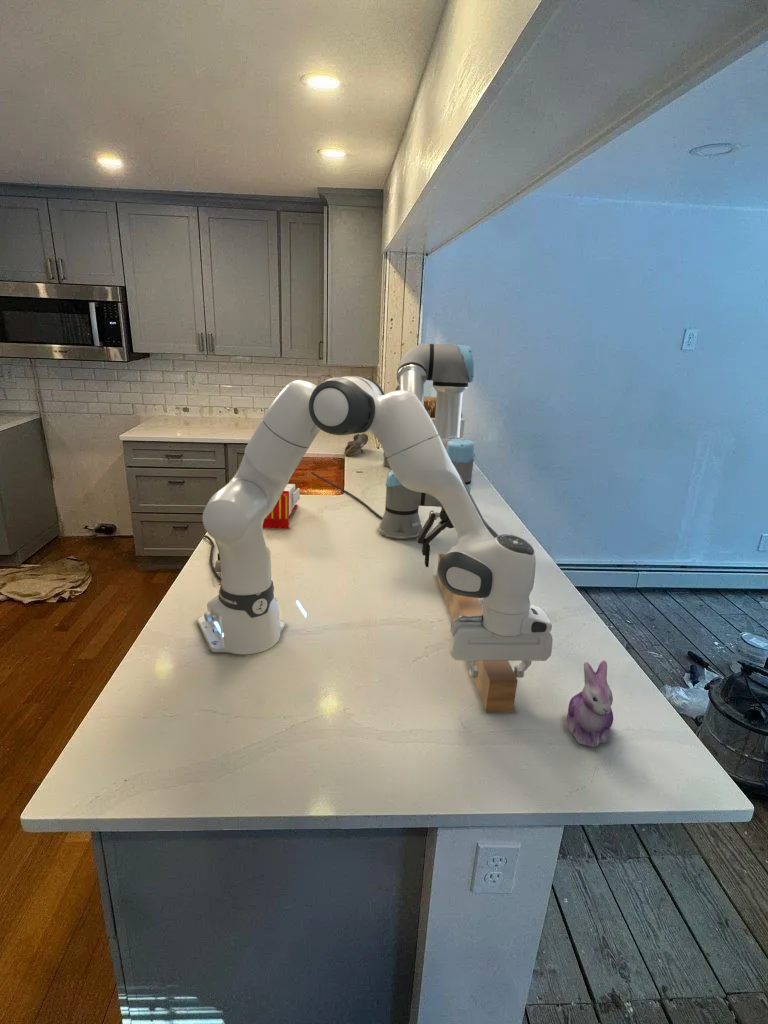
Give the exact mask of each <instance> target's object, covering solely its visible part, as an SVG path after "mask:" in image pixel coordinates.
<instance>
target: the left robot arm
mask: <svg viewBox="0 0 768 1024" xmlns="http://www.w3.org/2000/svg"><path fill="white" fill-rule="evenodd" d="M321 431H323V432H325V433H327V434H329V435H334V436H348V435H356V434H364V433H370V434H372V435H373V436H374V437H375V438H376V439H377V441H378V443H379V444H380V446H381V449H382V450H383V454H384V453H385V456H386V458H387V457H389V456H392V455H394V454H396V453H398V452H400V453H398V454H396V455H394V456H392V457H389V458H387V460H388V463H389V465H390V467H391V469H392V471H393V473H394V475H395V476H396V478H397V479H398V480H399V482H400V483H401V484H402V485H403V486H404V487H406V488H407V489H409V490H412V491H416V492H422V493H427V494H429V495H432V496H434V497H435V498H436V499H437V500H438V501H439V502H440V503H441V504H442V506H443V508H444V510H445V511H446V513H447V515H448V517H449V519H450V521H451V523H452V524H453V526H454V528H453V529H454V530H455V532H456V536H457V543H456V544H454V545H453V546H452V547H451V548H450V549H449V550H448V551H447V552H446V553H444V554H445V555H444V556H443V557H442V558H441V560H440V562H439V565H438V564H437V565H438V574H439V578H440V580H441V582H442V584H443V585H444V586H445V587H446V588H447V589H448V590H449V591H450V592H452V593H454V594H456V595H460V596H466V597H473V598H478V599H483V602H482V607H483V608H482V616H459V618H456V619H455V620H452V621H451V624H450V634H451V635H450V638H449V643H448V652H449V655H450V656H451V658H452V660H453V661H456V662H458V661H459V662H463V661H464V662H466V665H467V666H468V676H469V678H473V679H474V678H478V672H479V671H478V669H477V666H473V665H472V664H474V661H509V662H510V661H511V662H514V661H515V662H520V663H519V665H514V668H513V672H514V674H515V676H516V678H522V679H523V678H524V675H525V672H526V671H527V670H528V669H529V667H531V665H532V663H533V662H538V661H539V662H546V661H547V660H549V659H550V658H551V656H552V652H553V635H552V633H551V631H552V628H553V624H552V622H551V620H550V618H549V617H548V615H547V614H546V612H545V611H544V610H543V609H542V608H541V607H539V606H537V605H532V604H531V601H530V595H531V593H532V591H533V588H534V583H535V576H536V566H537V565H536V563H537V562H536V551H535V550H534V547H533V546H532V544H531V543H529V542H528V541H527V540H526V539H524V538H522V537H521V536H517V535H514V534H508V533H507V534H506V533H505V534H504V533H503V534H498V533H497V532H496V531H495V530H494V529H493V528H492V527H491V526H490V525H489V524H488V523H487V522H486V519H485V518H484V516H483V515H482V513H481V510H480V509H479V508H478V505H477V504H476V501H475V500H474V498H473V496H472V494H471V491H470V492H469V490H468V488H467V486H466V485H465V483H464V481H463V479H462V478H461V476H460V474H459V473H458V471H457V470H456V468H455V467H454V465H453V463H452V462H451V460H450V458H449V456H448V454H447V452H446V450H445V447H444V445H443V443H442V441H441V438H440V436H439V435H438V432H437V430H436V428H435V426H434V424H433V422H432V420H431V418H430V416H429V414H428V413H427V411H426V409H425V408H424V406H423V405H422V403H421V402H420V400H419V399H418V398H417V396H416V395H415V394H414V393H412V392H410V391H407V390H398V391H395V390H394V391H390V392H387V393H385V392H384V390H383V388H382V387H381V386H380V385H379V384H378V383H377V382H376V381H374V380H373V379H370V378H368V377H364V376H358V375H344V376H335V377H330V378H327V379H325V380H323V381H322V382H320V383H319V384H318V385H317V384H314V383H313V382H311V381H308V380H302V379H295V380H292V381H290V382H289V383H287V384H286V385H285V387H283V389H282V390H281V391H280V392H279V394H278V395H277V396H276V397H275V399H274V400H273V401H272V403H271V404H270V406H269V407H268V409H267V410H266V411H265V413H264V415H263V416H262V418H261V420H260V422H259V424H258V425H257V427H256V429H255V431H253V434H252V436H251V437H250V439H249V441H248V443H247V444H246V446H245V447H244V454H243V457H242V460H241V462H240V464H239V466H238V469H237V470H236V473H235V474H234V475H233V477H232V478H231V479H230V480H229V482H227V483H226V484H225V485H224V486H223V487H222V488H220V489H219V490H218V491H216V492H215V493H214V494H213V495H212V496H211V497H210V498H209V500H208V501H207V503H206V506H205V507H204V509H203V512H202V524H203V528H204V529H205V532H206V533H207V534H208V535H209V536H208V535H203V537H202V539H208V541H209V543H210V544H211V546H210V547H211V548H210V552H209V565H210V569H211V571H212V573H213V575H214V576H215V577H216V579H217V580H218V586H219V589H218V594H217V595H216V596H214V597H212V598H210V600H209V601H208V602H207V605H206V612H204V613H203V615H201V616H200V617H199V618H198V619H197V624H198V627H199V628H200V631H201V634H202V635H203V637H204V639H205V641H206V643H207V645H208V647H209V650H210V652H212V653H229V654H234V655H254V654H258V653H262V652H265V651H268V650H269V649H271V648H273V647H274V646H275V645H276V644H277V643H278V642H279V641H280V639H281V633H282V632H283V630H284V629H285V627H286V624H285V621H284V620H281V614H280V607H279V599H278V598H277V597H275V587H274V581H273V580H272V556H271V555H272V554H271V549H270V548H269V547H268V546H267V545H266V540H265V537H264V532H263V531H264V530H263V529H264V528H263V522H264V519H265V518H266V517H267V516H268V515H269V514H270V512H271V511H272V510H273V509H274V507H275V505H276V503H277V502H278V500H279V498H280V496H281V495H282V493H283V491H284V489H285V487H286V485H287V484H289V482H290V479H291V477H292V476H293V474H294V473H295V471H296V469H297V468H298V466H299V465H300V463H301V461H302V460H303V458H304V457H305V455H306V453H307V452H308V450H309V449H310V447H311V445H312V443H313V442H314V441H315V439H316V437H317V436H318V434H319V433H320V432H321ZM436 435H438V436H436ZM434 436H436V437H434ZM431 437H434V438H431ZM429 438H431V439H429ZM427 439H429V440H427ZM425 440H427V441H425ZM423 441H425V442H423ZM420 442H423V443H420ZM418 443H420V444H418ZM416 444H418V445H416ZM414 445H416V446H414ZM412 446H414V447H412ZM409 447H411V448H409ZM407 448H409V449H407ZM405 449H407V450H405ZM403 450H405V451H403ZM401 451H403V452H401ZM390 467H389V468H390ZM204 537H205V538H204ZM211 538H212V539H211ZM213 540H214V541H213ZM214 543H215V544H214ZM215 545H216V549H217V551H218V552H217V553H219V556H220V566H221V572H220V575H219V574H218V572H215V566H214V562H213V555H214V550H215V549H214V548H215ZM220 576H221V577H220ZM296 605H297V607H298V609H299V610H300V611H301V613H302V615H303V616H304V618H307V617H308V616H307V611H305V609H304V608H303V606H302V604H301V603H300V601H299V600H296Z"/></svg>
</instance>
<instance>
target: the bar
mask: <svg viewBox="0 0 768 1024" xmlns="http://www.w3.org/2000/svg"><path fill="white" fill-rule="evenodd" d="M445 554H446V553H438V554H437V565H436V578H437V579H436V580H437V582H438V584H439V588H440V590H441V593H442V596H443V598H444V601H445V604H446V606H447V609H448V611H449V614H450V618H451V620H452V621H453V620H455V619H456V618H459V616H482V608H483V604H482V603H481V601H480V598H473V597H466V596H460V595H456V594H454V593H452V592H450V591H449V590H448V589H447V588H446V587H445V586H444V585H443V584H442V582H441V580H440V578H439V574H438V565H439V562H440V560H441V558H442V557H443V556H444V555H445ZM472 665H473V666H477V669H478V671H479V672H478V678H473V680H474V683H475V686H476V689H477V692H478V695H479V697H480V700H481V703H482V706H483V708H484V711H485V712H486V713H500V712H501V713H502V712H503V713H505V712H514V707H515V700H516V694H517V688H518V681H519V680H518V677H516V676H515V674H514V669H513V667H512V665H511V664H510V661H474V664H472Z"/></svg>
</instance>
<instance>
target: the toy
mask: <svg viewBox="0 0 768 1024" xmlns="http://www.w3.org/2000/svg"><path fill="white" fill-rule="evenodd" d="M300 499H301V490H300V487H298V488H297V489H296V484H295V483H288V484H287V485H286V487H285V489H284V491H283V493H282V495H281V496H280V498H279V500H278V502H277V503H276V505H275V507H274V509H273V510H272V511H271V512H270V514H269V515H268V516H267V517H266V518H265V519H264V522H263V529H282V530H283V529H284V530H285V529H286V530H289V529H290V515H291V513H294V512H295V510H296V509H297V507H298V504H297V503H298V502H299V501H300Z"/></svg>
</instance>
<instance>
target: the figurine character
mask: <svg viewBox="0 0 768 1024" xmlns="http://www.w3.org/2000/svg"><path fill="white" fill-rule="evenodd" d="M214 569H215V572H216V573H220V574H221V566H220V556H219V552H217V560H216V562H215V564H214Z"/></svg>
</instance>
